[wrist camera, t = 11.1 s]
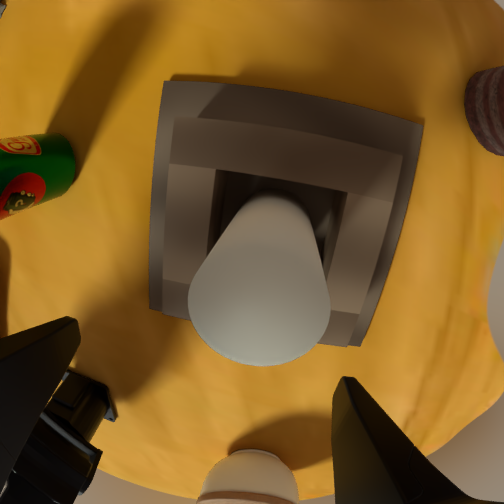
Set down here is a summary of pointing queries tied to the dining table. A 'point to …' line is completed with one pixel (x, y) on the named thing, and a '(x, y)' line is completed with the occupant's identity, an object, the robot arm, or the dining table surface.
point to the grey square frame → (279, 187)
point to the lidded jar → (249, 480)
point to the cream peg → (262, 284)
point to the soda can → (34, 171)
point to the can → (487, 108)
